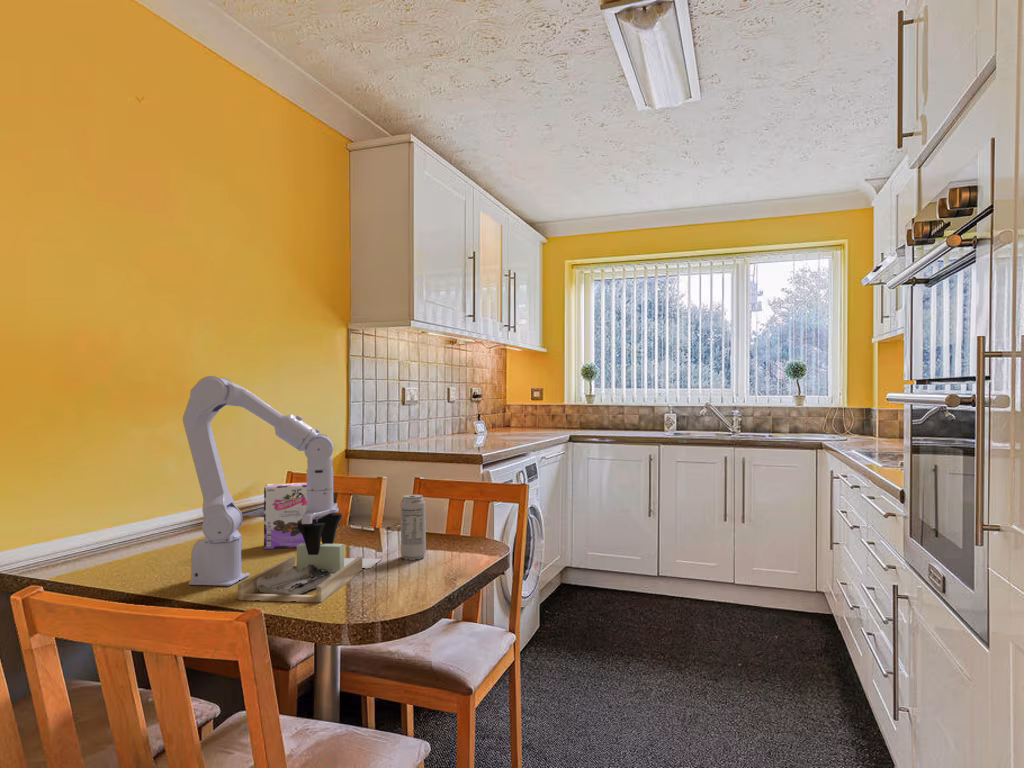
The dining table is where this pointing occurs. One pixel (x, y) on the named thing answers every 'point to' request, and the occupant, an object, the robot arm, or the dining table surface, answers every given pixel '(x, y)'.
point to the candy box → (283, 514)
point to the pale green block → (322, 557)
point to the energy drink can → (413, 527)
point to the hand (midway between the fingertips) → (320, 550)
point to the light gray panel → (363, 562)
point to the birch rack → (322, 590)
